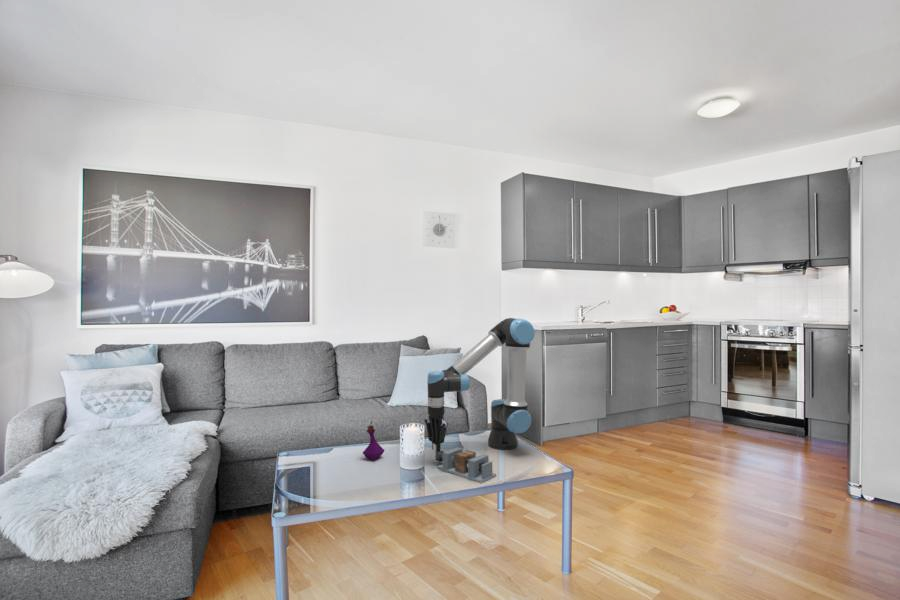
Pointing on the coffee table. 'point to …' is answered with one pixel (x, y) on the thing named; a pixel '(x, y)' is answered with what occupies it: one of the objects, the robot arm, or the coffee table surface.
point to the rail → (472, 469)
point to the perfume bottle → (373, 445)
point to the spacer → (463, 460)
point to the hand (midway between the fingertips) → (436, 457)
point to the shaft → (440, 458)
